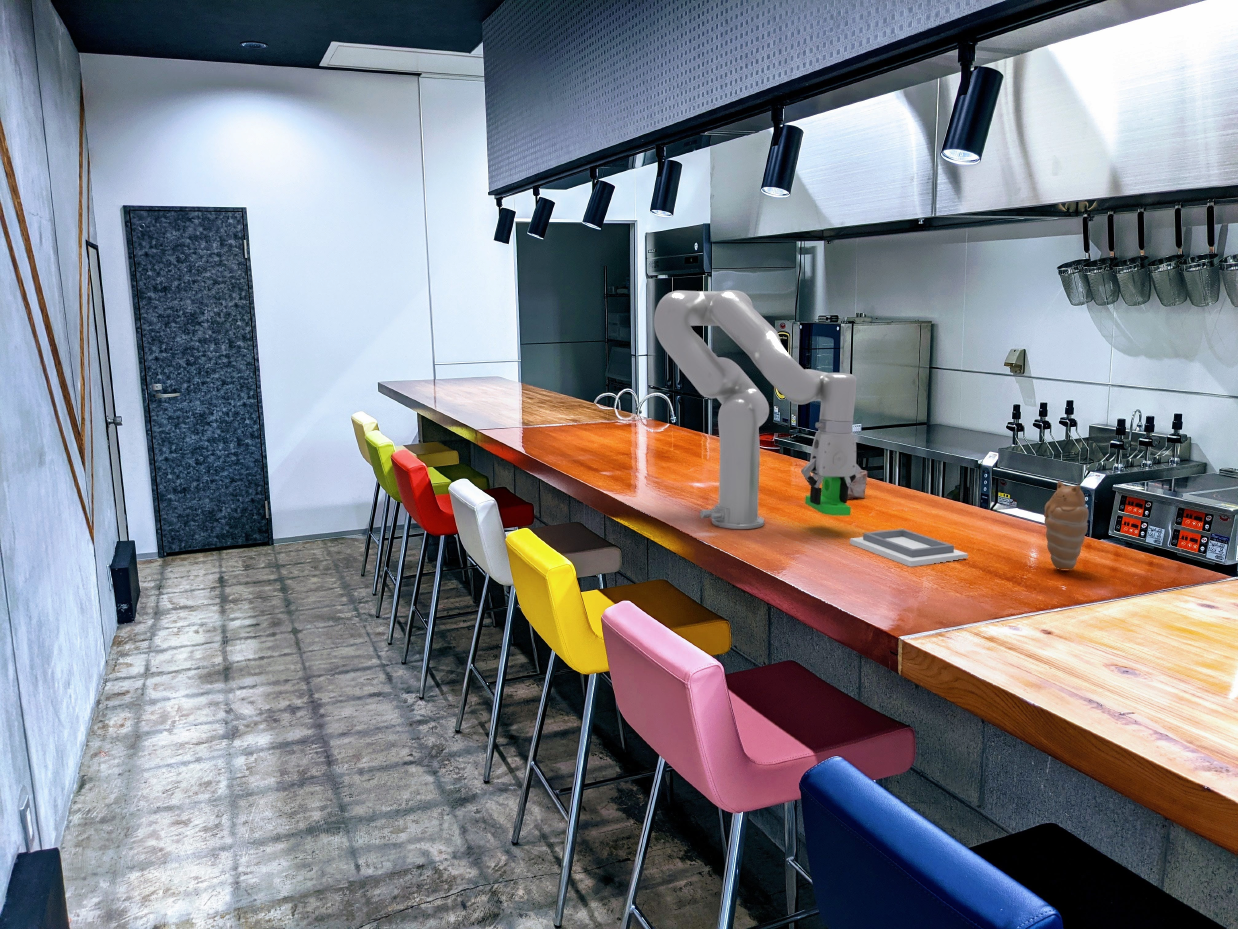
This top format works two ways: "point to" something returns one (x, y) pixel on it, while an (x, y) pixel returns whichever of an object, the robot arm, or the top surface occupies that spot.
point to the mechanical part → (830, 499)
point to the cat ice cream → (1066, 525)
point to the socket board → (907, 547)
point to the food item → (858, 486)
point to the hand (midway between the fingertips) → (828, 502)
